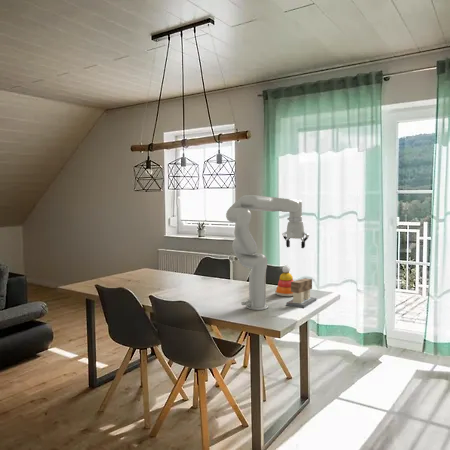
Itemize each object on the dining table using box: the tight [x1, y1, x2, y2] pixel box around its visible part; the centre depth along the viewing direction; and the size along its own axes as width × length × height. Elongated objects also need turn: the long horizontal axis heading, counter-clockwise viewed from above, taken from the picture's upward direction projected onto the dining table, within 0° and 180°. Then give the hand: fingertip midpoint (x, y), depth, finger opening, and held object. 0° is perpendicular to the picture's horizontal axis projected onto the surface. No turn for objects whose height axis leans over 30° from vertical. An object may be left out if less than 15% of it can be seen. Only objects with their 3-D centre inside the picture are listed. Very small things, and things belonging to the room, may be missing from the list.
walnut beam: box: [291, 277, 313, 293], centre depth 258 cm, size 15×5×6 cm, turn 137°
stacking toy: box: [274, 264, 294, 297], centre depth 279 cm, size 14×14×20 cm
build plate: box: [286, 289, 317, 309], centre depth 259 cm, size 20×11×8 cm, turn 148°
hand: (295, 247), depth 265 cm, fingers open, 9 cm apart
